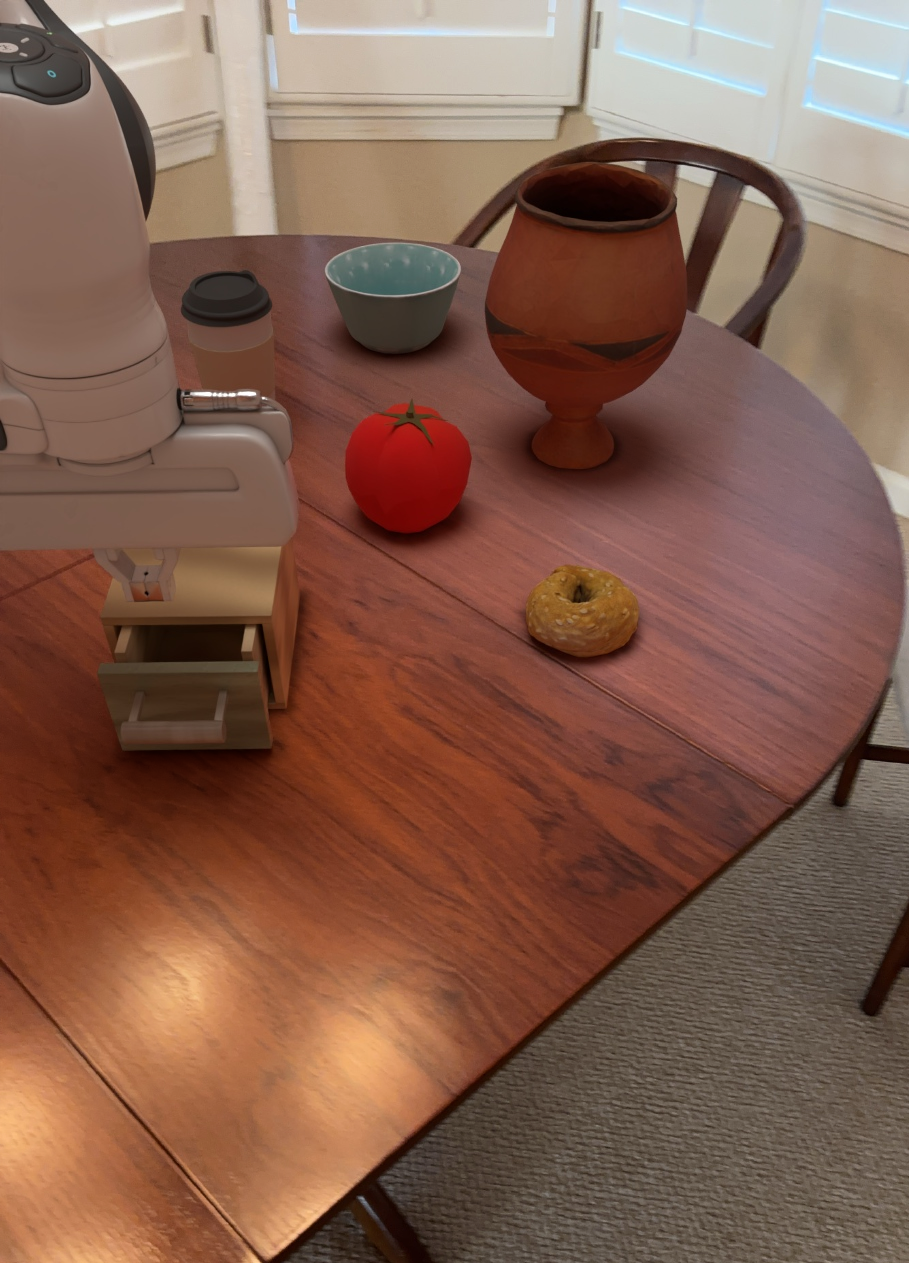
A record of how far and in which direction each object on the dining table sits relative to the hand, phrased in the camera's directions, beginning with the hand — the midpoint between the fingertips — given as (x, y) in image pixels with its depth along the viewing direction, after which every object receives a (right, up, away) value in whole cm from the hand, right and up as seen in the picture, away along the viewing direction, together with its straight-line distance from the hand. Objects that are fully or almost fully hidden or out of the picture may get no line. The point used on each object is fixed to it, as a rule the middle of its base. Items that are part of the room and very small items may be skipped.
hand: (152, 596), depth 69 cm
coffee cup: (-3, +28, +47) cm, 55 cm away
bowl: (+12, +43, +60) cm, 75 cm away
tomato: (+15, +15, +35) cm, 41 cm away
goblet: (+32, +24, +43) cm, 59 cm away
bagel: (+30, +2, +24) cm, 39 cm away
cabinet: (0, -1, +22) cm, 21 cm away
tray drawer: (0, -6, +16) cm, 17 cm away
